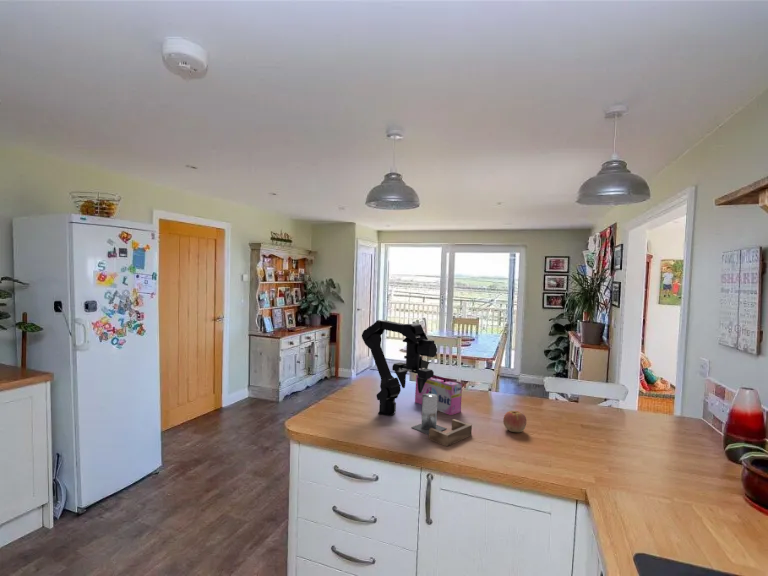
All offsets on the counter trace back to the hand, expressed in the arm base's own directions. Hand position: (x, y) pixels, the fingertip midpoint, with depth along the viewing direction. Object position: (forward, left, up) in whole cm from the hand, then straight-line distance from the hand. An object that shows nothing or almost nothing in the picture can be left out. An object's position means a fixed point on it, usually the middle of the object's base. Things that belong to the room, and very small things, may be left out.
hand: (411, 390), depth 169 cm
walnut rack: (+18, -12, -13) cm, 25 cm away
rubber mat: (+9, -6, -13) cm, 17 cm away
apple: (+42, +4, -13) cm, 44 cm away
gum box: (+8, +23, -13) cm, 28 cm away
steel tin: (+9, -6, -13) cm, 16 cm away
